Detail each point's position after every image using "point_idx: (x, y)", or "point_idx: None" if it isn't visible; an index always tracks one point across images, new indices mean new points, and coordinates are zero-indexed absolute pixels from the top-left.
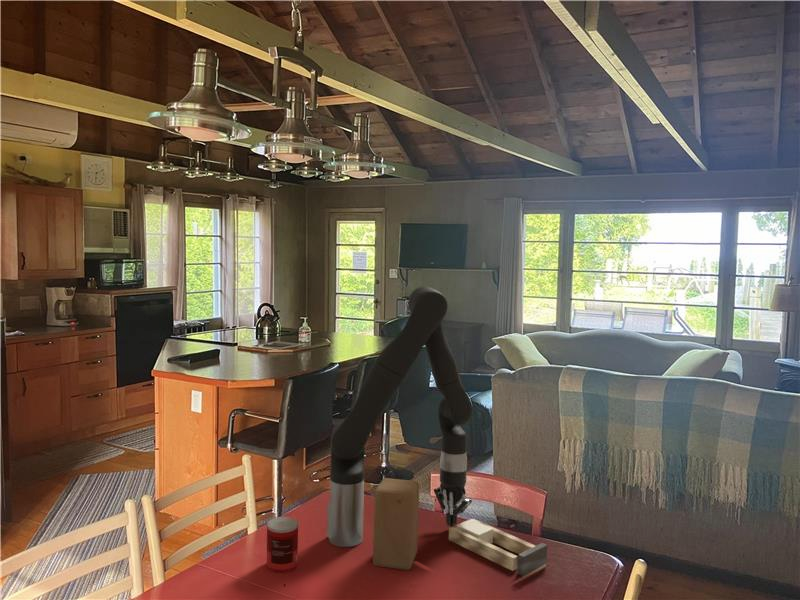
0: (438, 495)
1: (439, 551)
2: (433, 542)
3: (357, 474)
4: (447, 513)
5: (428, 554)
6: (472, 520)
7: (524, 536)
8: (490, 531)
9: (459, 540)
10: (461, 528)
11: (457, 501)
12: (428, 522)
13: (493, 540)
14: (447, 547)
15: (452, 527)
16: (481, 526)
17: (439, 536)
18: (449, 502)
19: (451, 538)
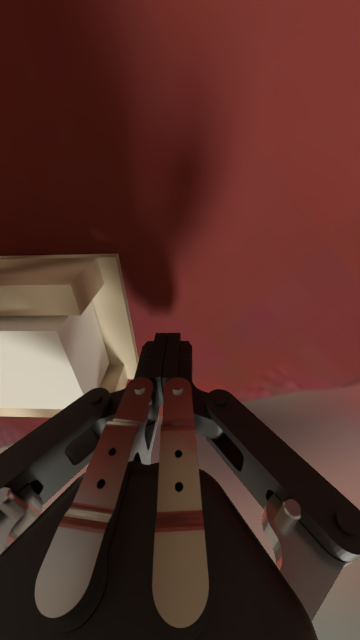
0: (283, 480)
1: (30, 130)
2: (140, 189)
3: None
4: (174, 376)
5: (9, 6)
6: None
7: None
8: None
9: (13, 267)
10: (25, 326)
11: (67, 489)
12: (303, 321)
13: None
14: (59, 211)
15: (70, 304)
16: (1, 393)
17: (174, 264)
18: (128, 453)
19: (72, 263)
